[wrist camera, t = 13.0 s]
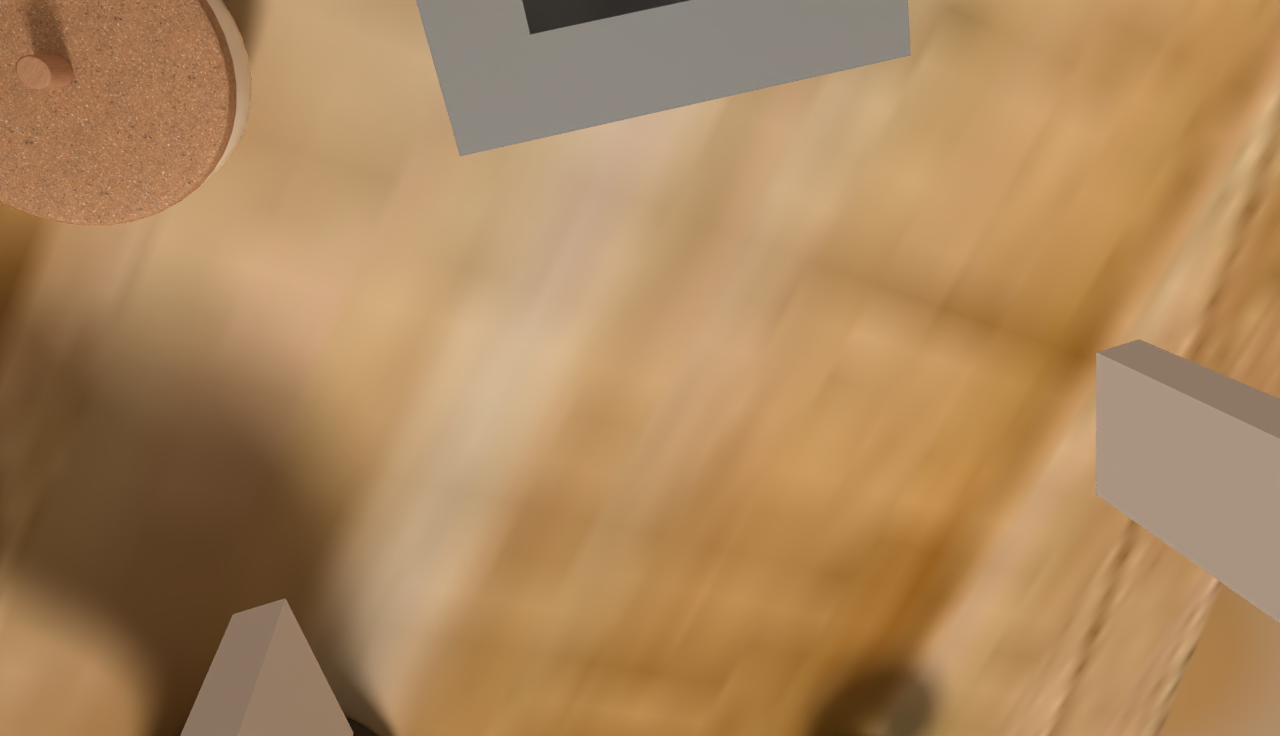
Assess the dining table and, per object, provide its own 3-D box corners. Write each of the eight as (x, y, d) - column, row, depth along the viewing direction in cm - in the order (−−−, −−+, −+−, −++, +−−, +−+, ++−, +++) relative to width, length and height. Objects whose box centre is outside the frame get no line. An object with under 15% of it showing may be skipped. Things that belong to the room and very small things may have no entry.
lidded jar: (-47, 73, 33) (-235, 86, 25) (92, -144, 31) (-59, -212, 23) (195, 237, 37) (106, 297, 29) (331, 53, 35) (280, 58, 27)
